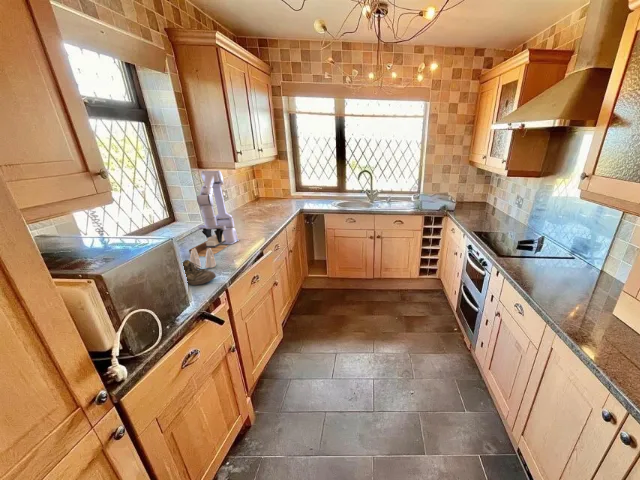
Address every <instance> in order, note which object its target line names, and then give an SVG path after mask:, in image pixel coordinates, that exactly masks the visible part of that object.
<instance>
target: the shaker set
mask: <svg viewBox="0 0 640 480" xmlns="http://www.w3.org/2000/svg"><path fill="white" fill-rule="evenodd" d="M193 248H194V247H193ZM191 249H192V248H191ZM189 256H190V257H189V261H190V262H192V263H194V265H195V264H197V265H199V266H201V267H202V266H203V265H202V263H201V259H200V256H198V253H197V250H196V249H195V248H194V250H193V249H192V250H191V254H190V253H189ZM216 262H217V261H216V259H215V254H214V255H213V252H212V250H211V248H209V249H207V252H206V256H205V266H204V269H209V268H211V269H212V268H215V267H216V266H217V263H216ZM197 265H195V266H196V267H198V268H200V269H201V267H199V266H197ZM195 266H194V267H195ZM196 267H195V268H196Z"/></svg>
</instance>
